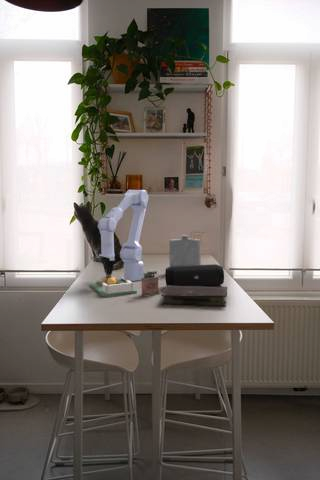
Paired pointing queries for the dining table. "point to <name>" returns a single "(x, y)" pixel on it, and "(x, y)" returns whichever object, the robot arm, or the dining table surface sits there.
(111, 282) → the ball
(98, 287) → the pitch
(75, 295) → the dining table surface
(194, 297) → the diary
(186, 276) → the portable speaker
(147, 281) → the lighter
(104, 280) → the beige block
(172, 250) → the hip flask
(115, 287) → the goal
